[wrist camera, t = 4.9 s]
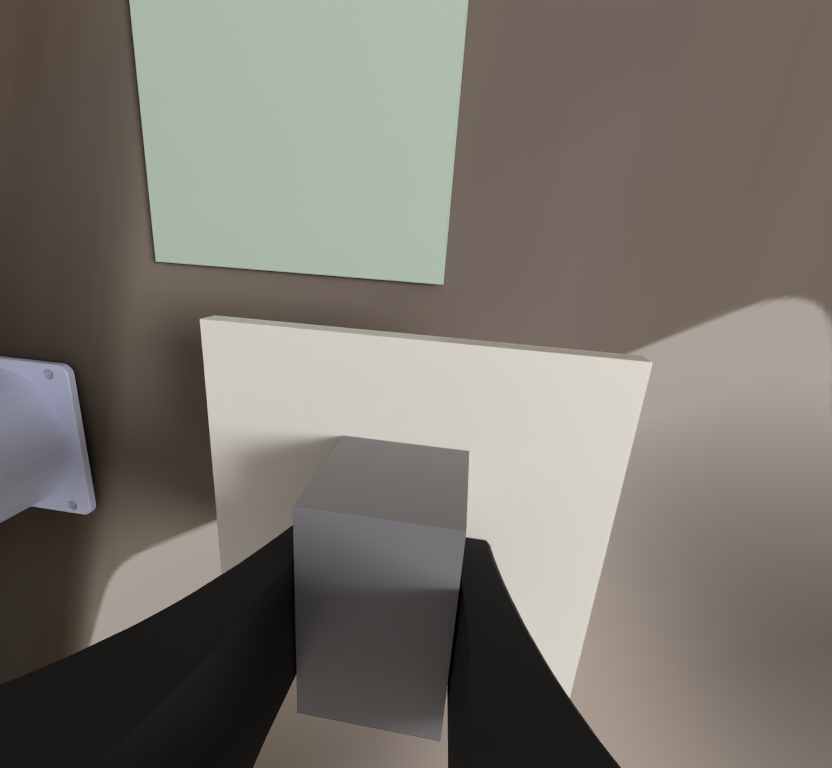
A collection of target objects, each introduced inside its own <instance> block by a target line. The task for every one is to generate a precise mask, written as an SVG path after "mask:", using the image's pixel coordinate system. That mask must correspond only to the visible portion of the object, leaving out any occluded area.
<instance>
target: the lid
mask: <svg viewBox="0 0 832 768" xmlns="http://www.w3.org/2000/svg"><path fill="white" fill-rule="evenodd" d="M200 327H201V339H202V350H203V362H204V374H205V385H206V397H207V408H208V420H209V431H210V443H211V454H212V466H213V477H214V489H215V501H216V512H217V524H218V534H219V547H220V558H221V569H222V574H223V573H225V572H226V571H228V570H230V569H231V568H233V567H234V566H236V565H237V564H239V563H240V562H242V561H243V560H245V559H246V558H248V557H249V556H250V555H252V554H253V553H255V552H256V551H258V550H259V549H260V548H262V547H263V546H265V545H266V544H267V543H269V542H270V541H272V540H273V539H274V538H276V537H277V536H278V535H280V534H281V533H283V532H284V531H285V530H287V529H288V528H289V527H291V526H292V525H293V542H294V586H295V630H296V674H297V712H298V713H301V714H306V715H311V716H316V717H321V718H326V719H331V720H336V721H342V722H346V723H351V724H356V725H361V726H366V727H371V728H376V729H381V730H386V731H391V732H396V733H401V734H406V735H411V736H416V737H421V738H426V739H431V740H436V741H440V739H441V731H442V723H443V715H444V706H445V699H446V691H447V683H448V675H449V667H450V659H451V651H452V643H453V635H454V627H455V619H456V611H457V603H458V595H459V587H460V579H461V571H462V563H463V555H464V546H465V538H466V537H468V538H475V539H482V540H486V541H487V542H488V543H489V544H490V546H491V550H492V553H493V556H494V559H495V561H496V564H497V567H498V569H499V572H500V574H501V576H502V579H503V581H504V583H505V585H506V588H507V590H508V592H509V594H510V596H511V598H512V600H513V602H514V604H515V606H516V608H517V610H518V612H519V614H520V616H521V618H522V620H523V622H524V624H525V626H526V628H527V629H528V631H529V633H530V635H531V637H532V638H533V640H534V642H535V644H536V645H537V647H538V649H539V651H540V652H541V654H542V656H543V657H544V659H545V661H546V662H547V664H548V666H549V667H550V669H551V671H552V672H553V674H554V675H555V677H556V678H557V680H558V682H559V683H560V685H561V686H562V688H563V689H564V691H565V692H566V694H567V695H568V697H569V698H570V695H571V691H572V687H573V683H574V679H575V675H576V671H577V666H578V663H579V659H580V655H581V651H582V646H583V643H584V638H585V634H586V630H587V626H588V622H589V618H590V614H591V610H592V606H593V602H594V598H595V594H596V590H597V586H598V582H599V578H600V574H601V570H602V566H603V562H604V558H605V553H606V550H607V546H608V541H609V537H610V533H611V529H612V525H613V521H614V517H615V513H616V509H617V505H618V501H619V497H620V493H621V489H622V485H623V481H624V476H625V473H626V469H627V465H628V460H629V457H630V453H631V449H632V444H633V441H634V436H635V432H636V428H637V424H638V420H639V416H640V412H641V408H642V404H643V400H644V396H645V392H646V388H647V384H648V380H649V375H650V372H651V368H652V363H653V362H651V361H650V360H648V359H646V358H645V357H643V356H639V355H629V354H618V353H608V352H597V351H587V350H576V349H565V348H555V347H544V346H534V345H523V344H513V343H502V342H491V341H481V340H470V339H460V338H449V337H438V336H428V335H417V334H407V333H396V332H386V331H375V330H364V329H354V328H343V327H333V326H322V325H312V324H301V323H290V322H280V321H269V320H259V319H248V318H238V317H227V316H216V315H214V316H210V317H206V318H201V319H200Z"/></svg>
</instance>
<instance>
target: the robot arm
mask: <svg viewBox="0 0 832 768" xmlns="http://www.w3.org/2000/svg"><path fill="white" fill-rule="evenodd" d="M51 371H52V372H51ZM52 373H53V374H52ZM30 506H33V507H39V508H46V509H52V510H58V511H65V512H71V513H78V514H88V513H90V512H92V511H93V510H95V508H96V501H95V495H94V489H93V483H92V477H91V471H90V465H89V459H88V453H87V447H86V441H85V435H84V429H83V423H82V417H81V411H80V405H79V399H78V393H77V387H76V381H75V375H74V372H73V370H72V368H71V367H70V366H68V365H67V364H64V363H57V362H48V361H39V360H30V359H21V358H12V357H4V356H0V523H1V522H3V521H5V520H6V519H8V518H10V517H12V516H14V515H16V514H17V513H19V512H21V511H23V510H25V509H27V508H28V507H30ZM295 676H296V630H295V586H294V542H293V525H292V526H291V527H289V528H288V529H287V530H285V531H284V532H283V533H281V534H280V535H278V536H277V537H276V538H274V539H273V540H272V541H270V542H269V543H267V544H266V545H265V546H263V547H262V548H260V549H259V550H258V551H256V552H255V553H253V554H252V555H250V556H249V557H248V558H246V559H245V560H243V561H242V562H240V563H239V564H237V565H236V566H234V567H233V568H231V569H230V570H228V571H226V572H225V573H223V574H222V575H220V576H219V577H217V578H216V579H214V580H212V581H211V582H210V583H208V584H206V585H205V586H203V587H201V588H200V589H198V590H197V591H195V592H193V593H192V594H190V595H188V596H187V597H185V598H183V599H182V600H180V601H178V602H176V603H175V604H173V605H171V606H169V607H167V608H166V609H164V610H162V611H160V612H158V613H156V614H154V615H153V616H151V617H149V618H147V619H145V620H143V621H141V622H140V623H138V624H136V625H134V626H132V627H130V628H128V629H126V630H123V631H122V632H119V633H117V634H115V635H113V636H111V637H109V638H106V639H104V640H102V641H100V642H98V643H96V644H94V645H92V646H90V647H87V648H85V649H83V650H81V651H79V652H77V653H75V654H73V655H70V656H68V657H66V658H64V659H61V660H59V661H57V662H54V663H52V664H50V665H47V666H45V667H43V668H40V669H38V670H35V671H33V672H31V673H28V674H26V675H23V676H21V677H18V678H16V679H13V680H11V681H8V682H6V683H3V684H1V685H0V768H253V766H254V764H255V762H256V759H257V757H258V755H259V752H260V750H261V748H262V745H263V743H264V741H265V739H266V736H267V734H268V732H269V730H270V728H271V726H272V724H273V722H274V719H275V718H276V715H277V713H278V711H279V709H280V707H281V705H282V703H283V701H284V699H285V697H286V694H287V692H288V690H289V688H290V686H291V684H292V682H293V680H294V678H295ZM447 694H448V768H621V767H620V766H619V765H618V763H617V762H616V761H615V760H614V759H613V757H612V756H611V755H610V753H609V752H608V751H607V750H606V748H605V747H604V746H603V744H602V743H601V742H600V741H599V739H598V738H597V736H596V735H595V734H594V732H593V731H592V730H591V728H590V727H589V725H588V724H587V722H586V721H585V720H584V718H583V717H582V715H581V714H580V713H579V711H578V710H577V708H576V707H575V706H574V704H573V703H572V701H571V700H570V698H569V697H568V695H567V694H566V692H565V691H564V689H563V688H562V686H561V685H560V683H559V682H558V680H557V678H556V677H555V675H554V674H553V672H552V671H551V669H550V667H549V666H548V664H547V662H546V661H545V659H544V657H543V656H542V654H541V652H540V651H539V649H538V647H537V645H536V644H535V642H534V640H533V638H532V637H531V635H530V633H529V631H528V629H527V628H526V626H525V624H524V622H523V620H522V618H521V616H520V614H519V612H518V610H517V608H516V606H515V604H514V602H513V600H512V598H511V596H510V594H509V592H508V590H507V588H506V585H505V583H504V581H503V579H502V576H501V574H500V572H499V569H498V567H497V564H496V561H495V559H494V556H493V553H492V550H491V546H490V544H489V543H488V542H487V541H486V540H482V539H475V538H468V537H466V538H465V546H464V555H463V563H462V571H461V579H460V587H459V595H458V603H457V611H456V619H455V627H454V635H453V643H452V651H451V659H450V667H449V675H448V683H447Z"/></svg>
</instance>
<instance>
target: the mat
mask: <svg viewBox="0 0 832 768" xmlns="http://www.w3.org/2000/svg"><path fill="white" fill-rule="evenodd" d="M468 1H469V0H129V3H130V13H131V22H132V32H133V42H134V52H135V62H136V72H137V82H138V92H139V101H140V111H141V121H142V131H143V141H144V151H145V161H146V171H147V180H148V190H149V200H150V210H151V220H152V230H153V240H154V250H155V259H156V261H157V262H169V263H181V264H194V265H206V266H219V267H231V268H243V269H256V270H268V271H280V272H293V273H305V274H317V275H330V276H342V277H354V278H367V279H379V280H392V281H404V282H416V283H429V284H441V285H443V284H444V274H445V262H446V251H447V239H448V228H449V217H450V205H451V194H452V183H453V171H454V160H455V149H456V137H457V126H458V114H459V103H460V92H461V80H462V69H463V58H464V46H465V35H466V24H467V12H468Z"/></svg>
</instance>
